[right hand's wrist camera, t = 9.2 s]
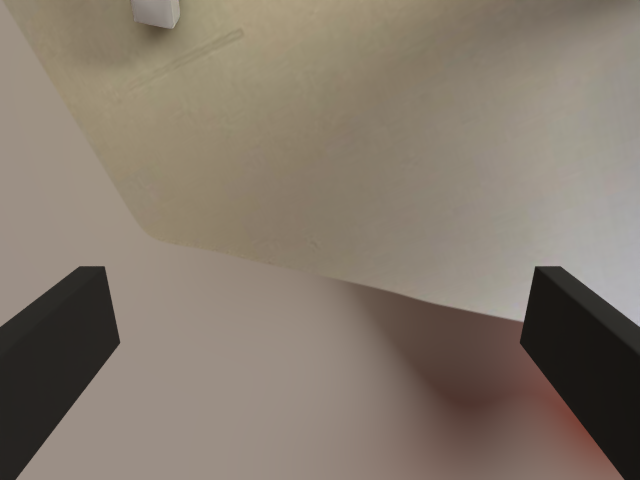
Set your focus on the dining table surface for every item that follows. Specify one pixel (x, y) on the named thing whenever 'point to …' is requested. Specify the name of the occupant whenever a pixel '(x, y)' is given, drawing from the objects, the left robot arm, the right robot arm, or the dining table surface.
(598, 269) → the dining table surface
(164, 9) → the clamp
